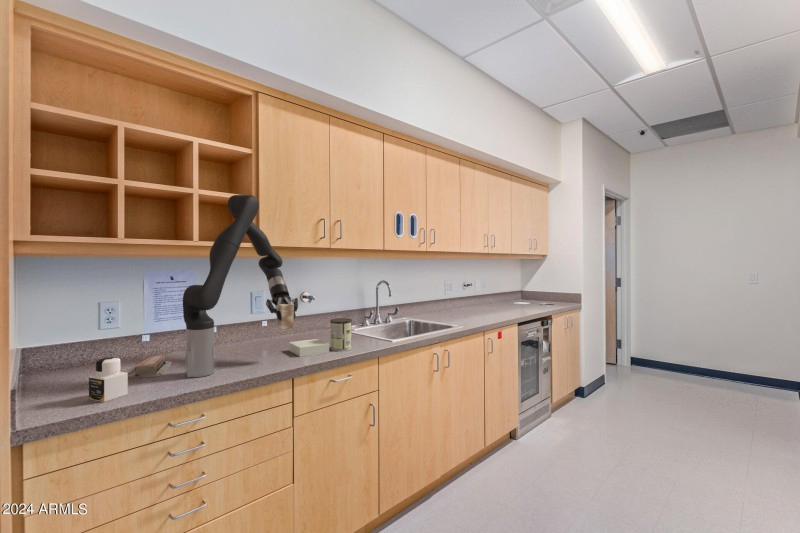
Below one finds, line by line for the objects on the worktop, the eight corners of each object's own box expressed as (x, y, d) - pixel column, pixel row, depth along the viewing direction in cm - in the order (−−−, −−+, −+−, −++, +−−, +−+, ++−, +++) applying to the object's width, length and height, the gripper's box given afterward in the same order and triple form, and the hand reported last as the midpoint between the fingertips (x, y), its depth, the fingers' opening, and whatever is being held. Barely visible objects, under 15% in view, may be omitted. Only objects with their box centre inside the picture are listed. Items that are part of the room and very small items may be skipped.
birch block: (281, 329, 160) (281, 305, 160) (277, 327, 164) (278, 304, 164) (293, 328, 163) (293, 304, 163) (289, 326, 167) (289, 303, 167)
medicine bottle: (88, 399, 117) (88, 360, 117) (113, 392, 123) (112, 354, 123) (103, 402, 114) (103, 362, 114) (128, 394, 121) (128, 356, 121)
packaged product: (159, 364, 140) (127, 366, 137) (160, 377, 140) (128, 380, 137) (172, 353, 157) (143, 355, 154) (172, 364, 157) (144, 367, 154)
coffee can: (334, 346, 192) (334, 317, 192) (354, 346, 190) (354, 318, 190) (326, 350, 182) (327, 320, 181) (347, 351, 180) (347, 321, 180)
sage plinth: (300, 356, 170) (300, 347, 170) (289, 350, 181) (289, 342, 181) (329, 352, 178) (329, 343, 178) (317, 346, 189) (317, 338, 189)
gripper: (263, 283, 166) (272, 314, 156) (296, 282, 174) (305, 312, 164) (260, 295, 170) (268, 325, 160) (291, 293, 178) (301, 322, 169)
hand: (287, 318), depth 162 cm, fingers closed on birch block, 5 cm apart
